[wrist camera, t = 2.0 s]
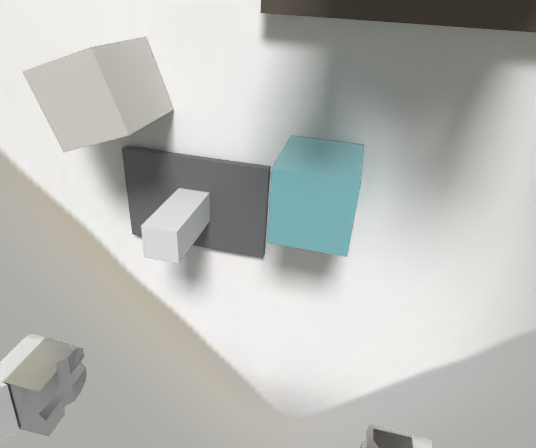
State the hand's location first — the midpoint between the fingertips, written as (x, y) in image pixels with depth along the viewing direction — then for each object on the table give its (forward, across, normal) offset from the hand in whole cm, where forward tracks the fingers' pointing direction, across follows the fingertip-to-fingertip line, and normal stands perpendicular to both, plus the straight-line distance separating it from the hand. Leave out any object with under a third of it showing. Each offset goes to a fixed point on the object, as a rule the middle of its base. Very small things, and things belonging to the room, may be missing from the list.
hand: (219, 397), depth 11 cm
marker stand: (+22, +8, +6) cm, 25 cm away
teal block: (+22, -1, +2) cm, 22 cm away
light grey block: (+22, +14, -2) cm, 26 cm away
